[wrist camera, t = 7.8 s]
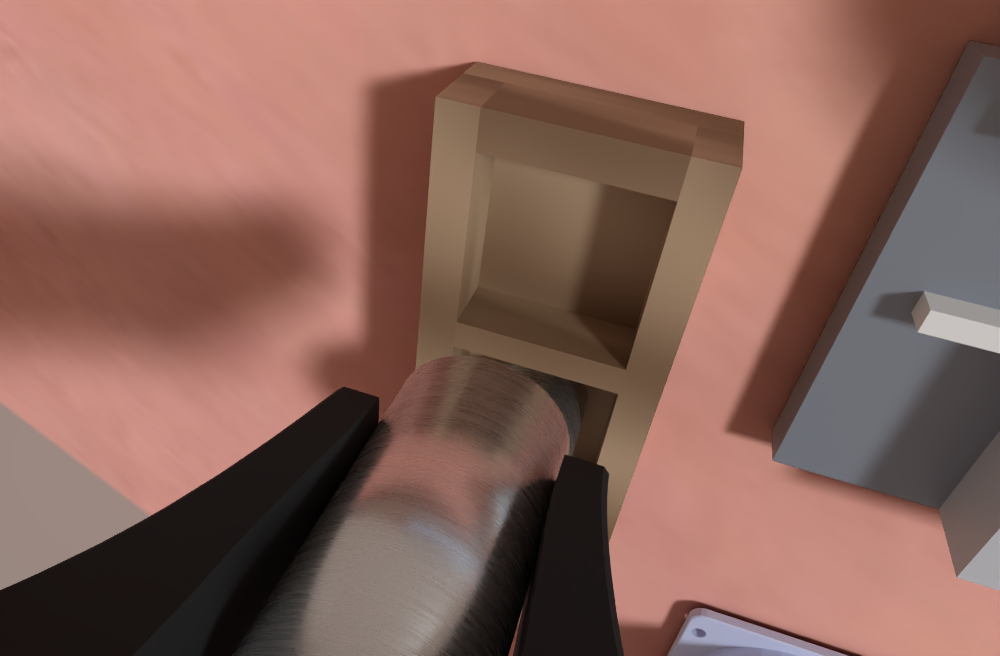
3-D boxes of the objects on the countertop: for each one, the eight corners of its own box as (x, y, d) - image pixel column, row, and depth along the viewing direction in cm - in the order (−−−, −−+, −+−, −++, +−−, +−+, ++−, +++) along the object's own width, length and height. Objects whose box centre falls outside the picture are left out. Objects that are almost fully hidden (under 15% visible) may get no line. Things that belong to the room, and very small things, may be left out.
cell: (552, 512, 13) (435, 908, 8) (395, 462, 13) (198, 809, 8) (586, 387, 11) (459, 805, 6) (402, 334, 11) (156, 686, 7)
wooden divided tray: (622, 474, 23) (608, 542, 21) (439, 418, 24) (407, 477, 22) (744, 121, 16) (742, 168, 14) (476, 61, 17) (435, 96, 15)
